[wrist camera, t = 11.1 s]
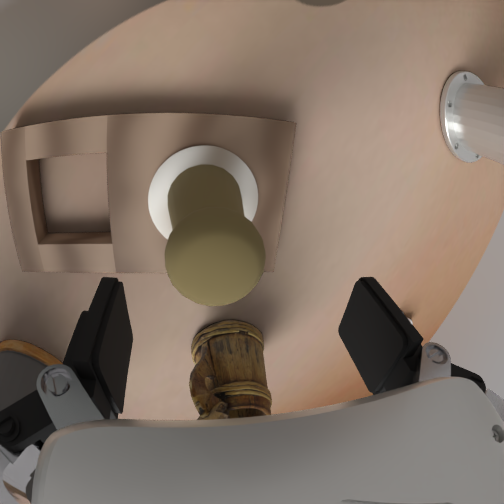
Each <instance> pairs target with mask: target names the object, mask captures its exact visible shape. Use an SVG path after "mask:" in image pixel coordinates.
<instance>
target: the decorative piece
mask: <svg viewBox="0 0 504 504" xmlns="http://www.w3.org/2000/svg"><path fill="white" fill-rule="evenodd" d="M53 364H63V363H62V362H61V361H59V360H58V359H56V358H55V357H54V356H52V355H51V354H49V353H48V352H46V351H44V350H43V349H41V348H39V347H37V346H35V345H32V344H30V343H27V342H24V341H19V340H5V341H3V342H1V343H0V411H1V410H3V409H5V408H6V407H8V406H10V405H12V404H13V403H15V402H17V401H18V400H20V399H22V398H23V397H25V396H27V395H28V394H30V393H32V392H34V391H35V390H37V386H36V384H37V378H38V376H39V374H40V373H41V371H42V370H43V369H45V368H46V367H48V366H50V365H53ZM35 470H36V469H34V471H33V472H32V473H31V475H30V476H31V477H32V478H31V479H30V481H29V482H28V483H27V486H26V496H27V498H28V500H29V501H30V503H31V500H32V488H33V480H34V475H35Z"/></svg>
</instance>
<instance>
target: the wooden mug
mask: <svg viewBox="0 0 504 504" xmlns="http://www.w3.org/2000/svg"><path fill="white" fill-rule="evenodd" d="M263 350H264V345H263V337H262V333H261V332H260V331H259V330H258V329H257V328H256V327H254V326H253V325H251V324H248V323H245V322H241V321H236V320H229V321H221V322H218V323H215V324H212V325H211V326H209V327H207V328H205V329H204V330H203V331H201V332H200V333H198V334H197V335H196V337H195V338H194V340H193V343H192V346H191V353H192V358H193V362H194V364H195V367H194V369H193V371H192V372H191V375H190V382H189V386H190V393H191V397H192V400H193V402H194V405H195V407H196V409H197V411H198V412H199V414H200V417H199V418H198V419H197V420H214V419H232V418H245V417H256V416H265V415H271V410H270V408H271V405H272V399H271V393H270V391H269V390H268V387H267V380H266V372H265V364H264V357H263Z"/></svg>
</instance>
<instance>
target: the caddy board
mask: <svg viewBox="0 0 504 504" xmlns="http://www.w3.org/2000/svg"><path fill="white" fill-rule="evenodd" d="M295 130H296V123H294V122H289V121H283V120H275V119H267V118H258V117H248V116H237V115H223V114H205V113H131V114H113V115H100V116H90V117H80V118H72V119H64V120H58V121H51V122H45V123H39V124H34V125H28V126H23V127H19V128H14V129H10V130H6V131H2V132H1V152H2V167H3V177H4V186H5V193H6V200H7V207H8V212H9V218H10V223H11V228H12V233H13V237H14V242H15V246H16V250H17V254H18V258H19V261H20V265H21V268H22V271H28V272H76V273H167V271H166V268H165V248H166V244H167V241H168V238H169V235H170V233H171V232H172V225H171V221H170V216H169V211H168V197H167V195H168V192H169V189H170V186H171V184H172V183H173V181H174V180H175V179H176V177H177V176H178V175H179V174H180V173H182V172H183V171H185V170H186V169H188V168H190V167H193V166H196V165H200V164H209V165H215V166H218V167H221V168H224V169H225V170H226V171H227V172H229V173H230V174H231V175H233V177H234V178H235V180H236V181H237V183H238V184H239V188H240V192H241V196H242V202H243V209H244V216H245V217H246V218H247V219H249V220H250V221H251V222H252V223H253V224H254V226H255V227H256V229H257V231H258V232H259V234H260V235H261V237H262V239H263V243H264V248H265V252H266V259H265V266H264V272H274V266H275V260H276V254H277V248H278V242H279V236H280V230H281V223H282V217H283V211H284V204H285V198H286V192H287V185H288V178H289V172H290V165H291V158H292V151H293V144H294V137H295ZM91 153H107V185H108V202H109V216H110V227H111V232H82V233H48V232H47V226H46V220H45V214H44V207H43V200H42V191H41V182H40V170H39V159H41V158H49V157H58V156H67V155H78V154H91Z"/></svg>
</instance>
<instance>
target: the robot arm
mask: <svg viewBox="0 0 504 504" xmlns="http://www.w3.org/2000/svg"><path fill="white" fill-rule="evenodd" d="M440 120H441V127H442V132H443V135H444V139H445V141H446V144H447V146H448V148H449V149H450V151H451V152H452V154H453V155H454V156H455V157H457V158H458V159H460V160H462V161H465V162H471V163H472V162H475V161H477V160H479V159H480V158H481V157H482V156H483V157H486V158H488V159H491V160H493V161H496V162H498V163H500V164H503V165H504V88H499V87H493V86H487V85H484V83H483V82H482V81H481V79H480V78H479V77H477V76H476V75H475V74H473V73H471V72H467V71H459V72H455V73H454V74H452V75H451V76H450V77H449V79H448V80H447V82H446V84H445V86H444V88H443V92H442V96H441V102H440ZM338 331H339V335H340V337H341V339H342V341H343V343H344V345H345V347H346V348H347V350H348V352H349V354H350V356H351V358H352V360H353V361H354V363H355V365H356V367H357V369H358V371H359V373H360V375H361V377H362V379H363V380H364V382H365V384H366V386H367V388H368V390H369V391H370V392H372V393H373V395H372V396H368V397H365V398H361V399H356V400H352V401H348V402H343V403H339V404H334V405H329V406H324V407H319V408H313V409H308V410H302V411H295V412H289V413H281V414H274V415H265V416H256V417H245V418H232V419H214V420H135V419H118V413H121V414H122V412H123V406H124V397H125V389H126V382H127V375H128V368H129V361H130V355H131V349H132V343H133V334H132V329H131V325H130V320H129V315H128V310H127V304H126V299H125V293H124V287H123V283H122V282H118V279H117V278H109V277H103V278H102V279H101V281H100V284H99V286H98V288H97V291H96V293H95V296H94V298H93V300H92V303H91V305H90V308H89V311H83V312H82V313H81V315H80V318H79V320H78V323H77V325H76V328H75V330H74V333H73V336H72V339H71V341H70V344H69V347H68V350H67V353H66V355H65V358H64V361H63V364H53V365H50V366H48V367H46V368H45V369H43V370H42V371H41V373H40V374H39V376H38V378H37V384H36V386H37V390H35V391H34V392H32V393H30V394H28V395H27V396H25V397H23V398H22V399H20V400H18V401H17V402H15V403H13V404H12V405H10V406H8V407H6V408H5V409H3V410H1V411H0V504H504V400H503V399H502V398H501V397H499V396H498V395H497V394H495V393H494V392H493V391H491V390H490V389H487V390H486V386H485V383H484V381H483V379H482V378H481V377H480V376H479V375H477V374H475V373H473V372H471V371H468V370H466V369H463V368H461V367H459V366H456V365H454V364H452V363H451V358H450V355H449V353H448V351H447V350H446V349H445V348H444V347H443V346H441V345H439V344H437V343H433V342H428V343H426V344H425V345H424V346H423V347H422V345H421V342H422V341H423V338H422V336H421V335H420V334H419V333H418V331H417V330H416V329H415V327H414V326H413V325H412V323H411V322H410V321H409V320H408V318H407V317H406V316H405V315H404V313H403V312H402V311H401V310H400V308H399V307H398V306H397V305H396V303H395V302H394V301H393V300H392V299H391V297H390V296H389V295H388V294H387V292H386V291H385V290H384V289H383V288H382V286H381V285H380V284H379V283H378V282H377V281H376V279H375V278H373V277H361V278H360V279H359V280H358V281H357V282H356V283H355V285H354V288H353V291H352V294H351V296H350V299H349V302H348V305H347V307H346V310H345V313H344V315H343V318H342V320H341V323H340V325H339V330H338ZM34 469H36V470H35V475H34V480H33V488H32V500H31V503H30V501H29V500H28V498H27V496H26V486H27V483H28V482H29V481H30V479H31V478H32V477H31V476H30V475H31V473H32V472H33V471H34Z"/></svg>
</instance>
